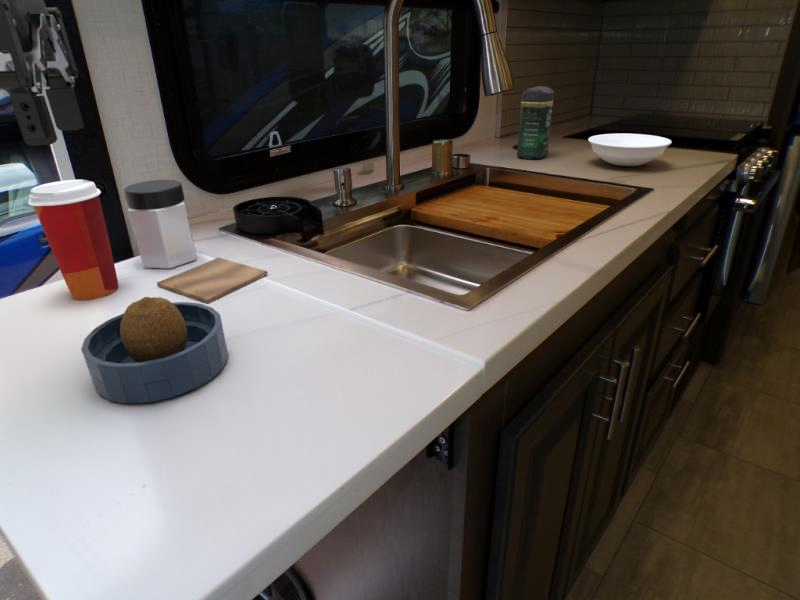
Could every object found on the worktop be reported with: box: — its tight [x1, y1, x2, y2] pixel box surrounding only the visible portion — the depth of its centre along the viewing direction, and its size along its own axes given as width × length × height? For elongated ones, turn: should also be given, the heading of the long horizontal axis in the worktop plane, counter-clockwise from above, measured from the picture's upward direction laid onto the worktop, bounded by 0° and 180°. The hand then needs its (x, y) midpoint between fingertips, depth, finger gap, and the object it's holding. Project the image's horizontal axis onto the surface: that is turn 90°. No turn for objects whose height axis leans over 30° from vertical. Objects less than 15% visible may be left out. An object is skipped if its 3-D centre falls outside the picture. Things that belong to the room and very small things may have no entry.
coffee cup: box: [27, 179, 119, 301], centre depth 71 cm, size 8×8×15 cm
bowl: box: [587, 133, 673, 167], centre depth 135 cm, size 20×20×6 cm
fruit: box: [120, 296, 187, 363], centre depth 54 cm, size 6×6×8 cm
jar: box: [123, 179, 197, 270], centre depth 82 cm, size 9×8×12 cm
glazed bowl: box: [80, 301, 229, 404], centre depth 55 cm, size 13×13×4 cm
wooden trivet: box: [156, 257, 269, 304], centre depth 76 cm, size 11×11×1 cm
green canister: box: [516, 85, 555, 160], centre depth 145 cm, size 10×8×19 cm
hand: (58, 136), depth 47 cm, fingers open, 8 cm apart
